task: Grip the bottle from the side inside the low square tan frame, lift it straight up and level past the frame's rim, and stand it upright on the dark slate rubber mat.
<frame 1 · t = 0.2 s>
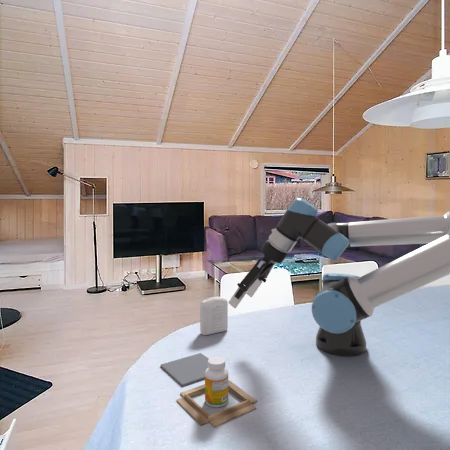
hand: (240, 299, 109), 15 cm above the table, tool tilted 35°, fingers open, 13 cm apart
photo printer: (214, 332, 123), on the table
slate mat: (192, 369, 96), on the table
square tan frame: (216, 401, 80), on the table
supplement bottle: (216, 402, 80), resting in square tan frame
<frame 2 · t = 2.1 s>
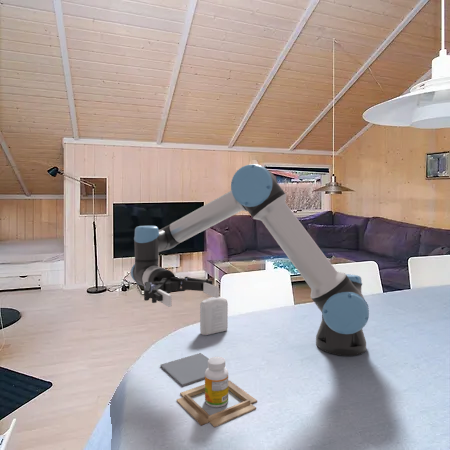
hand: (195, 296, 87), 22 cm above the table, tool horizontal, fingers open, 13 cm apart
nothing on the table moved.
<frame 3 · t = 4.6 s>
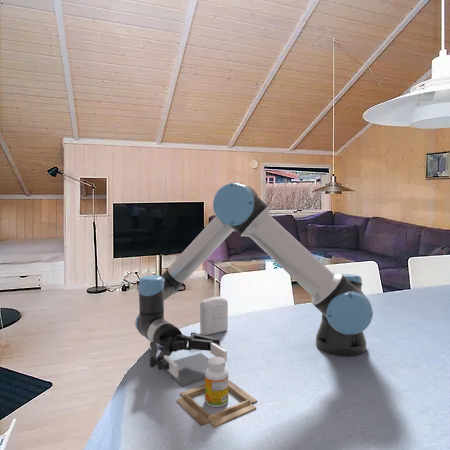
hand: (202, 363, 84), 7 cm above the table, tool horizontal, fingers open, 13 cm apart
nothing on the table moved.
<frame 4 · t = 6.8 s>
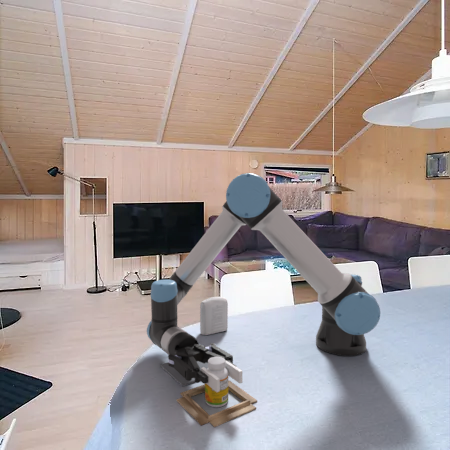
hand: (229, 381, 75), 7 cm above the table, tool horizontal, fingers closed on supplement bottle, 5 cm apart
supplement bottle: (216, 402, 80), resting in square tan frame, touching gripper
everything else where it was.
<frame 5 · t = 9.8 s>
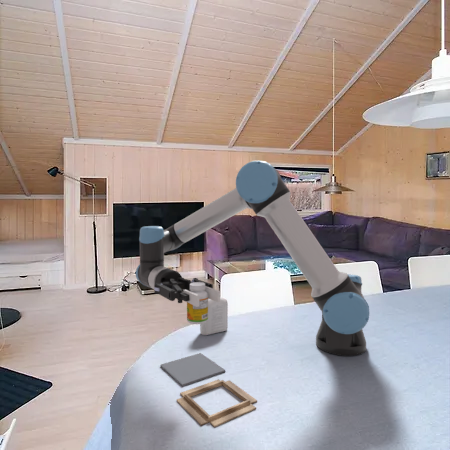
hand: (208, 298, 85), 22 cm above the table, tool horizontal, fingers closed on supplement bottle, 5 cm apart
supplement bottle: (197, 321, 89), point 15 cm above the table, touching gripper
everything else where it was.
when the fingers open (9 cm above the table, at t = 13.0 s): supplement bottle drops 1 cm, resting on slate mat.
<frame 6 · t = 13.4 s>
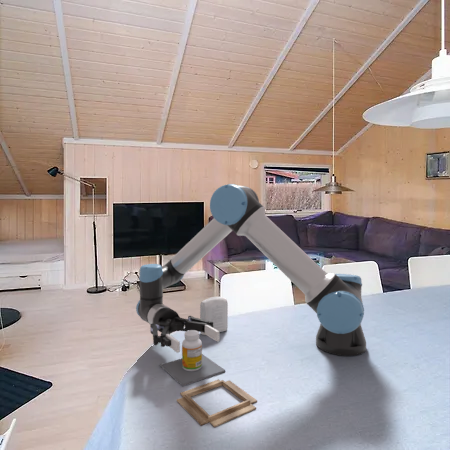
hand: (199, 341, 92), 9 cm above the table, tool horizontal, fingers open, 11 cm apart
supplement bottle: (192, 367, 96), resting on slate mat
everything else where it was.
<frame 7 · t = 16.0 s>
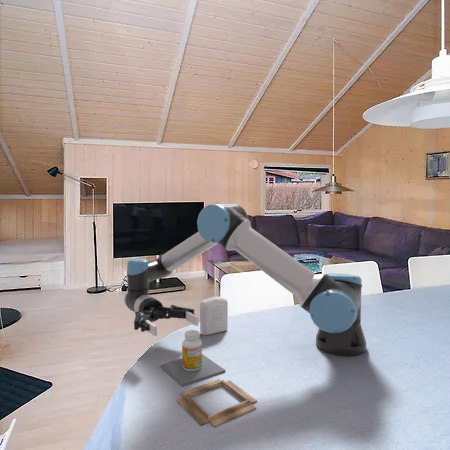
hand: (177, 326, 102), 9 cm above the table, tool horizontal, fingers open, 13 cm apart
nothing on the table moved.
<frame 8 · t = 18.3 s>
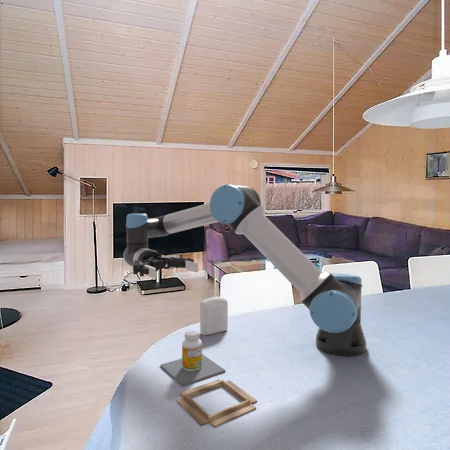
hand: (176, 270, 101), 26 cm above the table, tool horizontal, fingers open, 13 cm apart
nothing on the table moved.
at the end: supplement bottle inside the target area on the slate mat (0.0 cm from its centre), point 0.3 cm above the slate mat's base; supplement bottle tilted 0°; the gripper is holding nothing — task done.
